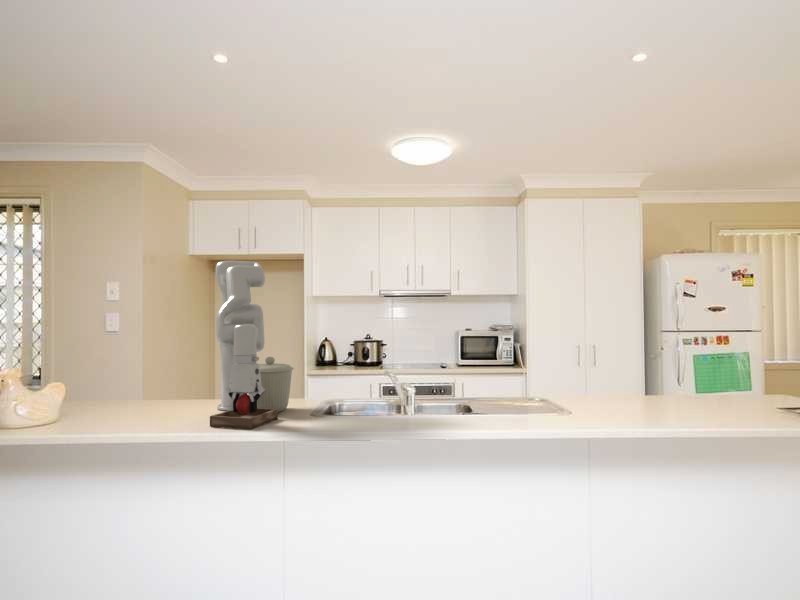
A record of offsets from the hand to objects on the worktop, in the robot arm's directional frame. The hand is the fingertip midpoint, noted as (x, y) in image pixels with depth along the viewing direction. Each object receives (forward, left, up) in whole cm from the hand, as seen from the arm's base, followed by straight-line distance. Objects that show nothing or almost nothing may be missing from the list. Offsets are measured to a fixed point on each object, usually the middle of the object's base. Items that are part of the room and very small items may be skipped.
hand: (244, 411), depth 159 cm
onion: (0, 0, -1) cm, 1 cm away
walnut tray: (0, 0, -4) cm, 4 cm away
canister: (-20, -3, -4) cm, 21 cm away
